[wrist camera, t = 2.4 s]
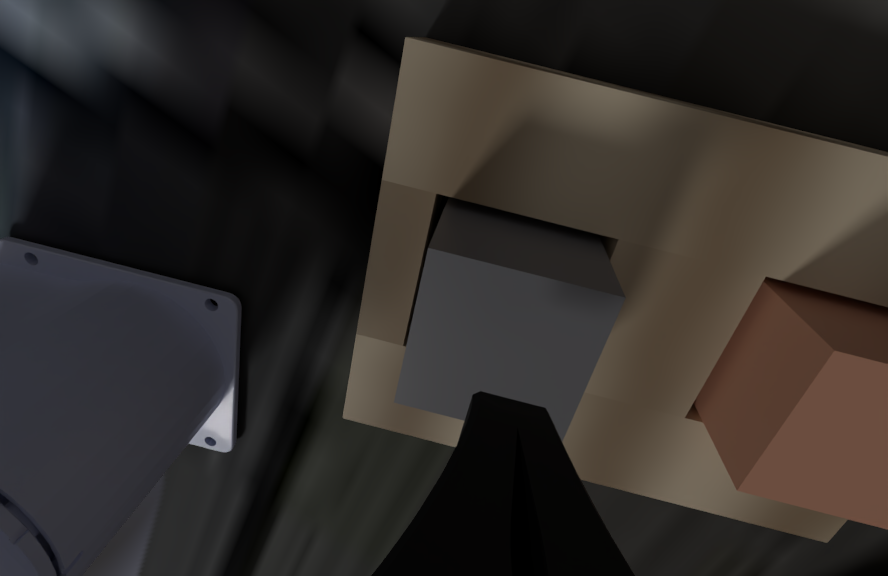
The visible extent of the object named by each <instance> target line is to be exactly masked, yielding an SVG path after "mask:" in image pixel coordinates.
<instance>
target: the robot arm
mask: <svg viewBox="0 0 888 576" xmlns="http://www.w3.org/2000/svg"><path fill="white" fill-rule="evenodd" d="M34 255H35V256H36V257H37V258H36V257H35V256H34ZM210 299H213V300H215V301H216V303H217V304H218V306H215V305H213V303H212V302H211V300H210ZM241 310H242V307H241V302H240V301H239V299H238V298H237V297H236V296H235V295H233V294H231V293H229V292H225V291H221V290H217V289H213V288H209V287H205V286H201V285H197V284H193V283H189V282H186V281H182V280H178V279H174V278H170V277H166V276H162V275H158V274H154V273H150V272H146V271H142V270H139V269H135V268H131V267H127V266H123V265H119V264H115V263H111V262H107V261H103V260H99V259H95V258H92V257H88V256H84V255H80V254H76V253H72V252H68V251H64V250H60V249H56V248H52V247H48V246H45V245H41V244H37V243H33V242H29V241H25V240H21V239H17V238H13V237H5V238H2V239H0V576H82V575H83V574H84V573H85V572H86V570H87V569H88V568H89V567H90V565H91V564H92V563H93V562H94V560H95V559H96V558H97V557H98V555H99V554H100V553H101V552H102V550H103V549H104V548H105V547H106V545H107V544H108V543H109V542H110V540H111V539H112V538H113V537H114V536H115V534H116V533H117V532H118V531H119V529H120V528H121V527H122V525H123V524H124V523H125V522H126V521H127V519H128V518H129V517H130V516H131V514H132V513H133V512H134V511H135V509H136V508H137V507H138V506H139V504H140V503H141V502H142V501H143V499H144V498H145V497H146V495H147V494H148V493H149V492H150V491H151V489H152V488H153V487H154V486H155V484H156V483H157V482H158V481H159V479H160V478H161V477H162V476H163V474H164V473H165V472H166V471H167V469H168V468H169V467H170V466H171V464H172V463H173V462H174V461H175V459H176V458H177V457H178V456H179V455H180V453H181V452H182V451H183V450H184V448H185V447H186V446H187V445H188V443H189V444H193V445H197V446H201V447H205V448H208V449H212V450H216V451H220V452H229V451H231V450H232V449H233V447H234V446H235V444H236V438H237V413H238V387H239V361H240V336H241ZM372 576H635V575H634V573H633V572H632V570H631V569H630V567H629V565H628V564H627V562H626V560H625V559H624V557H623V555H622V554H621V552H620V550H619V549H618V547H617V545H616V544H615V542H614V540H613V538H612V537H611V535H610V533H609V531H608V530H607V528H606V526H605V524H604V523H603V521H602V519H601V517H600V515H599V513H598V512H597V510H596V508H595V506H594V504H593V502H592V500H591V498H590V497H589V495H588V493H587V491H586V489H585V487H584V485H583V483H582V481H581V479H580V478H579V476H578V474H577V472H576V470H575V468H574V465H573V463H572V461H571V459H570V457H569V455H568V453H567V451H566V449H565V447H564V445H563V443H562V441H561V438H560V436H559V434H558V432H557V430H556V428H555V425H554V423H553V421H552V419H551V417H550V415H549V413H548V411H547V409H546V408H544V407H540V406H536V405H533V404H529V403H525V402H521V401H517V400H513V399H509V398H505V397H501V396H498V395H494V394H490V393H486V392H482V391H479V392H477V393H475V394H473V395H472V398H471V402H470V405H469V408H468V411H467V414H466V418H465V421H464V424H463V427H462V430H461V434H460V437H459V440H458V443H457V446H456V448H455V450H454V452H453V454H452V456H451V458H450V459H449V461H448V463H447V465H446V467H445V469H444V471H443V473H442V474H441V476H440V478H439V479H438V481H437V483H436V484H435V486H434V487H433V489H432V491H431V492H430V494H429V496H428V497H427V499H426V500H425V502H424V504H423V505H422V507H421V508H420V510H419V511H418V513H417V515H416V516H415V517H414V519H413V520H412V522H411V523H410V525H409V526H408V528H407V529H406V530H405V532H404V533H403V535H402V536H401V538H400V539H399V540H398V542H397V543H396V544H395V546H394V547H393V548H392V550H391V551H390V552H389V554H388V555H387V556H386V558H385V559H384V560H383V562H382V563H381V564H380V566H379V567H378V568H377V569H376V571H375V572H374V573H373V574H372Z"/></svg>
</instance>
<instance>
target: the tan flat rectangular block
mask: <svg viewBox="0 0 888 576" xmlns="http://www.w3.org/2000/svg"><path fill="white" fill-rule="evenodd" d="M443 195H444V196H448V197H452V198H456V199H460V200H464V201H468V202H472V203H476V204H480V205H484V206H488V207H492V208H496V209H500V210H504V211H508V212H512V213H516V214H520V215H524V216H528V217H532V218H536V219H540V220H543V221H547V222H551V223H555V224H559V225H563V226H567V227H571V228H575V229H579V230H583V231H587V232H591V233H595V234H598V235H599V237H600V239H601V242H602V244H603V246H604V249H605V251H606V253H607V255H608V258H609V260H610V262H611V265H612V267H613V269H614V272H615V274H616V276H617V279H618V281H619V283H620V286H621V288H622V290H623V292H624V295H625V297H626V298H625V301H624V303H623V305H622V308H621V310H620V312H619V314H618V317H617V319H616V321H615V323H614V326H613V328H612V330H611V333H610V335H609V337H608V339H607V342H606V344H605V346H604V348H603V351H602V353H601V355H600V358H599V360H598V362H597V364H596V367H595V369H594V371H593V373H592V376H591V378H590V380H589V383H588V385H587V387H586V389H585V392H584V394H583V396H582V398H581V401H580V403H579V405H578V408H577V410H576V412H575V414H574V417H573V419H572V421H571V423H570V426H569V428H568V430H567V432H566V435H565V437H564V439H563V442H562V443H563V445H564V447H565V449H566V451H567V453H568V455H569V457H570V459H571V461H572V463H573V465H574V468H575V470H576V472H577V474H578V476H579V478H580V479H581V480H585V481H589V482H593V483H597V484H600V485H604V486H608V487H612V488H616V489H620V490H624V491H628V492H631V493H635V494H639V495H643V496H647V497H651V498H655V499H659V500H663V501H666V502H670V503H674V504H678V505H682V506H686V507H690V508H694V509H697V510H701V511H705V512H709V513H713V514H717V515H721V516H725V517H729V518H732V519H736V520H740V521H744V522H748V523H752V524H756V525H760V526H763V527H767V528H771V529H775V530H779V531H783V532H787V533H791V534H795V535H798V536H802V537H806V538H810V539H814V540H818V541H822V542H826V543H828V541H829V540H830V539H831V538H832V537H833V536H834V535H835V533H836V532H837V531H838V530H839V529H840V528H841V527H842V525H843V524H844V523H845V522H846V521H847V520H848V519H845V518H841V517H837V516H833V515H829V514H825V513H822V512H818V511H814V510H810V509H806V508H802V507H798V506H794V505H790V504H787V503H783V502H779V501H775V500H771V499H767V498H763V497H759V496H755V495H752V494H748V493H744V492H740V491H737V490H736V488H735V486H734V484H733V482H732V480H731V478H730V476H729V474H728V472H727V470H726V468H725V466H724V464H723V462H722V460H721V458H720V456H719V454H718V452H717V450H716V448H715V445H714V443H713V441H712V439H711V437H710V435H709V433H708V431H707V429H706V427H705V425H704V423H703V421H702V419H701V417H700V415H699V413H698V411H697V409H696V407H695V405H694V401H695V399H696V397H697V396H698V394H699V392H700V391H701V389H702V387H703V385H704V384H705V382H706V380H707V378H708V377H709V375H710V373H711V371H712V370H713V368H714V366H715V364H716V363H717V361H718V359H719V357H720V356H721V354H722V352H723V350H724V349H725V347H726V345H727V343H728V342H729V340H730V338H731V337H732V335H733V333H734V331H735V330H736V328H737V326H738V324H739V323H740V321H741V319H742V317H743V316H744V314H745V312H746V310H747V309H748V307H749V305H750V303H751V302H752V300H753V298H754V296H755V295H756V293H757V291H758V289H759V288H760V286H761V284H762V283H763V281H764V279H765V277H770V278H774V279H778V280H782V281H786V282H790V283H794V284H798V285H802V286H806V287H810V288H814V289H818V290H822V291H825V292H829V293H833V294H837V295H841V296H845V297H849V298H853V299H857V300H861V301H865V302H869V303H873V304H877V305H881V306H885V307H888V152H886V151H882V150H878V149H874V148H870V147H865V146H861V145H857V144H853V143H849V142H845V141H841V140H837V139H833V138H829V137H825V136H821V135H817V134H813V133H809V132H805V131H801V130H797V129H793V128H789V127H785V126H781V125H777V124H773V123H769V122H765V121H761V120H757V119H753V118H749V117H745V116H741V115H737V114H733V113H728V112H724V111H720V110H716V109H712V108H708V107H704V106H700V105H696V104H692V103H688V102H684V101H680V100H676V99H672V98H668V97H664V96H660V95H656V94H652V93H648V92H644V91H640V90H636V89H632V88H628V87H624V86H620V85H616V84H612V83H608V82H604V81H600V80H596V79H591V78H587V77H583V76H579V75H575V74H571V73H567V72H563V71H559V70H555V69H551V68H547V67H543V66H539V65H535V64H531V63H527V62H523V61H519V60H515V59H511V58H507V57H503V56H499V55H495V54H491V53H487V52H483V51H479V50H475V49H471V48H467V47H463V46H459V45H454V44H450V43H446V42H442V41H438V40H434V39H430V38H426V37H405V42H404V48H403V55H402V61H401V67H400V73H399V79H398V85H397V91H396V97H395V103H394V109H393V115H392V121H391V127H390V133H389V139H388V145H387V152H386V158H385V164H384V170H383V176H382V182H381V188H380V194H379V200H378V206H377V212H376V218H375V224H374V230H373V236H372V243H371V249H370V255H369V261H368V267H367V273H366V279H365V285H364V291H363V297H362V303H361V309H360V315H359V321H358V327H357V333H356V340H355V346H354V352H353V358H352V364H351V370H350V376H349V382H348V388H347V394H346V400H345V406H344V412H343V418H344V419H348V420H352V421H356V422H360V423H364V424H368V425H371V426H375V427H379V428H383V429H387V430H391V431H395V432H399V433H402V434H406V435H410V436H414V437H418V438H422V439H426V440H430V441H434V442H437V443H441V444H445V445H449V446H453V447H456V446H457V443H458V440H459V437H460V434H461V430H462V427H463V424H464V420H460V419H456V418H452V417H448V416H444V415H440V414H436V413H432V412H429V411H425V410H421V409H417V408H413V407H409V406H405V405H401V404H397V403H394V399H395V395H396V390H397V386H398V381H399V377H400V372H401V368H402V363H403V359H404V354H405V350H406V345H407V341H408V336H409V332H410V327H411V323H412V318H413V313H414V309H415V304H416V300H417V295H418V291H419V286H420V282H421V277H422V273H423V268H424V264H425V259H426V255H427V250H428V247H429V244H430V242H431V239H432V237H433V234H434V232H435V228H436V224H437V219H438V215H439V210H440V206H441V201H442V197H443Z"/></svg>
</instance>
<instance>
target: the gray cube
mask: <svg viewBox="0 0 888 576" xmlns="http://www.w3.org/2000/svg"><path fill="white" fill-rule="evenodd" d="M625 298H626V297H625V295H624V292H623V290H622V288H621V286H620V283H619V281H618V279H617V276H616V274H615V272H614V269H613V267H612V265H611V262H610V260H609V258H608V255H607V253H606V251H605V249H604V246H603V244H602V242H601V239H600V237H599V235H598V234H595V233H591V232H587V231H583V230H579V229H575V228H571V227H567V226H563V225H559V224H555V223H551V222H547V221H543V220H540V219H536V218H532V217H528V216H524V215H520V214H516V213H512V212H508V211H504V210H500V209H496V208H492V207H488V206H484V205H480V204H476V203H472V202H468V201H464V200H460V199H456V198H452V197H449V198H448V200H447V203H446V205H445V207H444V210H443V212H442V215H441V217H440V220H439V222H438V225H437V227H436V230H435V232H434V234H433V237H432V239H431V242H430V244H429V247H428V250H427V255H426V259H425V264H424V268H423V273H422V277H421V282H420V286H419V291H418V295H417V300H416V304H415V309H414V313H413V318H412V323H411V327H410V332H409V336H408V341H407V345H406V350H405V354H404V359H403V363H402V368H401V372H400V377H399V381H398V386H397V390H396V395H395V399H394V403H397V404H401V405H405V406H409V407H413V408H417V409H421V410H425V411H429V412H432V413H436V414H440V415H444V416H448V417H452V418H456V419H460V420H464V421H465V418H466V414H467V411H468V408H469V405H470V402H471V398H472V395H473V394H475V393H477V392H479V391H482V392H486V393H490V394H494V395H498V396H501V397H505V398H509V399H513V400H517V401H521V402H525V403H529V404H533V405H536V406H540V407H544V408H546V409H547V411H548V413H549V415H550V417H551V419H552V421H553V423H554V425H555V428H556V430H557V432H558V434H559V436H560V438H561V441H562V442H563V439H564V437H565V435H566V432H567V430H568V428H569V426H570V423H571V421H572V419H573V417H574V414H575V412H576V410H577V408H578V405H579V403H580V401H581V398H582V396H583V394H584V392H585V389H586V387H587V385H588V383H589V380H590V378H591V376H592V373H593V371H594V369H595V367H596V364H597V362H598V360H599V358H600V355H601V353H602V351H603V348H604V346H605V344H606V342H607V339H608V337H609V335H610V333H611V330H612V328H613V326H614V323H615V321H616V319H617V317H618V314H619V312H620V310H621V308H622V305H623V303H624V301H625Z"/></svg>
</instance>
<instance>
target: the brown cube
mask: <svg viewBox="0 0 888 576" xmlns="http://www.w3.org/2000/svg"><path fill="white" fill-rule="evenodd" d="M694 405H695V407H696V409H697V411H698V413H699V415H700V417H701V419H702V421H703V423H704V425H705V427H706V429H707V431H708V433H709V435H710V437H711V439H712V441H713V443H714V445H715V448H716V450H717V452H718V454H719V456H720V458H721V460H722V462H723V464H724V466H725V468H726V470H727V472H728V474H729V476H730V478H731V480H732V482H733V484H734V486H735V488H736V490H737V491H740V492H744V493H748V494H752V495H755V496H759V497H763V498H767V499H771V500H775V501H779V502H783V503H787V504H790V505H794V506H798V507H802V508H806V509H810V510H814V511H818V512H822V513H825V514H829V515H833V516H837V517H841V518H845V519H849V520H853V521H857V522H861V523H864V524H868V525H872V526H876V527H880V528H884V529H888V307H885V306H881V305H877V304H873V303H869V302H865V301H861V300H857V299H853V298H849V297H845V296H841V295H837V294H833V293H829V292H825V291H822V290H818V289H814V288H810V287H806V286H802V285H798V284H794V283H790V282H786V281H782V280H778V279H774V278H770V277H765V279H764V281H763V283H762V284H761V286H760V288H759V289H758V291H757V293H756V295H755V296H754V298H753V300H752V302H751V303H750V305H749V307H748V309H747V310H746V312H745V314H744V316H743V317H742V319H741V321H740V323H739V324H738V326H737V328H736V330H735V331H734V333H733V335H732V337H731V338H730V340H729V342H728V343H727V345H726V347H725V349H724V350H723V352H722V354H721V356H720V357H719V359H718V361H717V363H716V364H715V366H714V368H713V370H712V371H711V373H710V375H709V377H708V378H707V380H706V382H705V384H704V385H703V387H702V389H701V391H700V392H699V394H698V396H697V397H696V399H695V401H694Z"/></svg>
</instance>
